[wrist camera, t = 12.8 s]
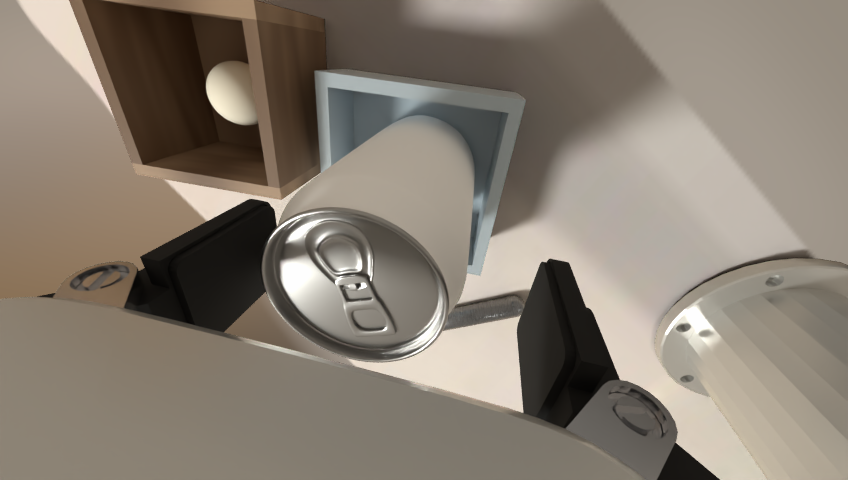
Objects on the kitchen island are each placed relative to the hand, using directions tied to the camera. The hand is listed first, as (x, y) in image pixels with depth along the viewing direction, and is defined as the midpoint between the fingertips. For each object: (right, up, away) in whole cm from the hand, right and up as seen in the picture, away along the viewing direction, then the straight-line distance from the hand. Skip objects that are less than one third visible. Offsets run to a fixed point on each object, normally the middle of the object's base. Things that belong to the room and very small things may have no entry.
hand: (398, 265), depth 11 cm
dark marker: (+3, -5, +15) cm, 16 cm away
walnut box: (-9, +10, +8) cm, 16 cm away
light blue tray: (+1, +6, +9) cm, 11 cm away
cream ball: (-9, +10, +8) cm, 15 cm away
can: (+1, +5, +9) cm, 10 cm away
